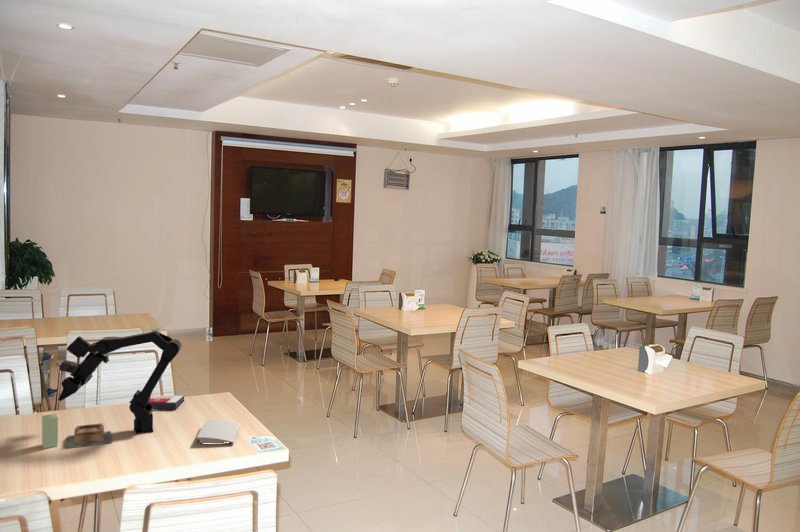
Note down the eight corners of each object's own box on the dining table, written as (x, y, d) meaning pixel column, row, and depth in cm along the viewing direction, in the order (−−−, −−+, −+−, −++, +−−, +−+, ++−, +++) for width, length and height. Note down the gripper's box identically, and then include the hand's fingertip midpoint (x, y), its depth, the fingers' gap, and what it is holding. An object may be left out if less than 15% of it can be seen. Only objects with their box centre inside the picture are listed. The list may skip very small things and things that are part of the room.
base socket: (110, 432, 240) (110, 421, 240) (111, 443, 230) (111, 431, 229) (67, 437, 234) (67, 425, 233) (66, 448, 223) (66, 436, 223)
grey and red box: (151, 394, 281) (184, 394, 281) (152, 403, 281) (184, 403, 281) (141, 401, 270) (175, 401, 270) (142, 411, 270) (176, 411, 270)
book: (191, 448, 229) (191, 438, 229) (202, 427, 252) (202, 418, 251) (233, 448, 231) (233, 438, 231) (240, 427, 254) (240, 418, 253)
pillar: (56, 442, 228) (56, 413, 227) (57, 446, 224) (57, 417, 224) (42, 444, 225) (41, 415, 225) (43, 448, 222) (43, 419, 221)
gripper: (79, 347, 245) (54, 378, 245) (63, 358, 227) (35, 391, 226) (103, 363, 248) (78, 394, 247) (88, 375, 229) (62, 408, 229)
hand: (63, 396), depth 237 cm, fingers open, 9 cm apart
